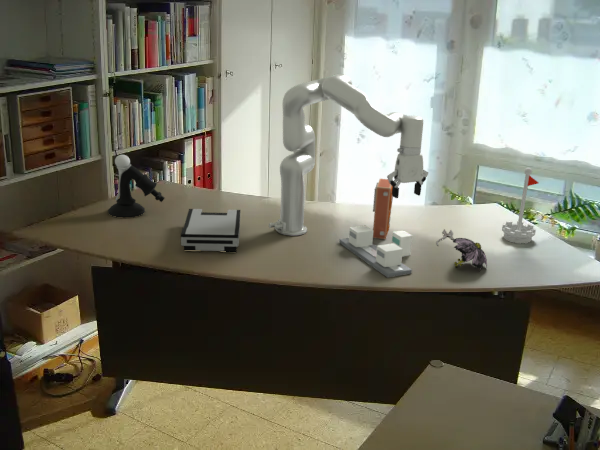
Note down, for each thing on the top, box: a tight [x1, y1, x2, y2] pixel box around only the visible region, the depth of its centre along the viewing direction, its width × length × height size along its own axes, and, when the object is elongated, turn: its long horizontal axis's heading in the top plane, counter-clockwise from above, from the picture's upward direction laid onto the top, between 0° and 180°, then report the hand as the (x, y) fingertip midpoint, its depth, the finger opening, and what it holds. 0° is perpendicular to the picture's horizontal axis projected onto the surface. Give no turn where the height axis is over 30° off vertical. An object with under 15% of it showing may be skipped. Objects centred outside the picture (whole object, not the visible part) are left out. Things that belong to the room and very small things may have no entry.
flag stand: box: [501, 167, 539, 244], centre depth 278 cm, size 13×13×30 cm
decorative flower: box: [452, 237, 488, 273], centre depth 251 cm, size 14×12×15 cm
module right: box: [376, 242, 403, 267], centre depth 247 cm, size 7×6×6 cm
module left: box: [348, 225, 374, 247], centre depth 264 cm, size 7×6×6 cm
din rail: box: [347, 237, 403, 272], centre depth 257 cm, size 4×34×1 cm, turn 26°
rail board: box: [338, 237, 413, 279], centre depth 257 cm, size 10×35×2 cm, turn 26°
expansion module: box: [390, 230, 413, 258], centre depth 261 cm, size 5×6×8 cm
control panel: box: [372, 178, 394, 240], centre depth 278 cm, size 21×7×15 cm
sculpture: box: [107, 154, 166, 218], centre depth 290 cm, size 15×24×25 cm, turn 94°
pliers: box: [435, 228, 460, 247], centre depth 279 cm, size 10×1×20 cm
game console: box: [180, 208, 241, 253], centre depth 267 cm, size 21×32×8 cm, turn 3°
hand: (406, 195), depth 255 cm, fingers open, 9 cm apart
